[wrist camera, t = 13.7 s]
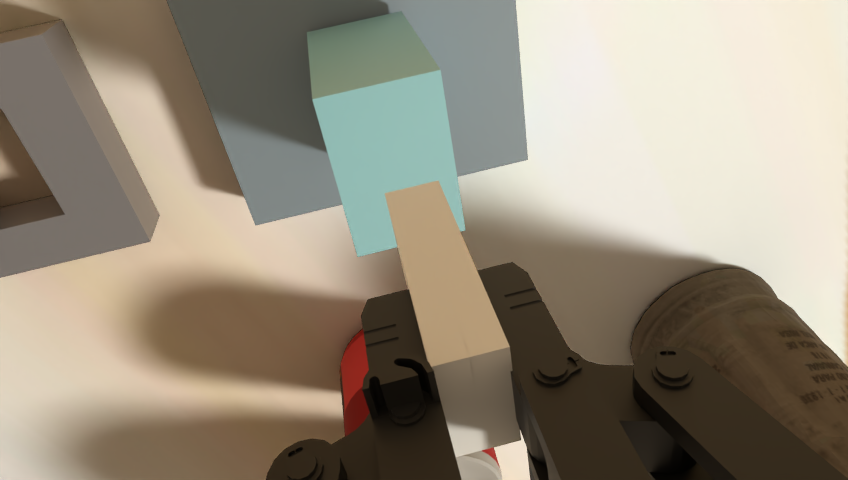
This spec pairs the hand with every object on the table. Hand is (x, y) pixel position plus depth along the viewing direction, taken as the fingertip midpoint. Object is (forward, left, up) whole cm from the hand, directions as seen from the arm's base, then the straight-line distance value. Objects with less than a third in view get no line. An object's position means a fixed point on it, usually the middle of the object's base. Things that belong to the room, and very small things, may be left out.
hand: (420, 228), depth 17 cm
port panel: (0, 0, -15) cm, 15 cm away
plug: (0, 0, -15) cm, 15 cm away
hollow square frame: (-17, 0, -15) cm, 23 cm away
